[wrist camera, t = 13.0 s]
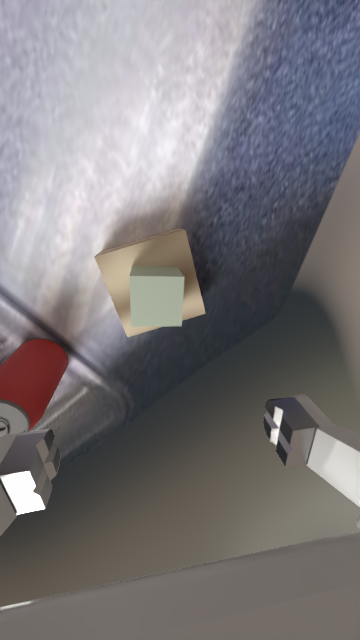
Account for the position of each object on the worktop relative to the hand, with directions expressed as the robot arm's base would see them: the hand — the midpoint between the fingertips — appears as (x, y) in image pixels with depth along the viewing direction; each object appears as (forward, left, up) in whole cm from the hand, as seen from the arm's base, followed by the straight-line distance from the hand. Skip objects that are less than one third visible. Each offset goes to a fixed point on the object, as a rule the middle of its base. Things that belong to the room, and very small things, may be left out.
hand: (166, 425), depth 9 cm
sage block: (0, 0, -20) cm, 20 cm away
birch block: (0, 0, -25) cm, 25 cm away
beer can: (+10, -16, -25) cm, 31 cm away
